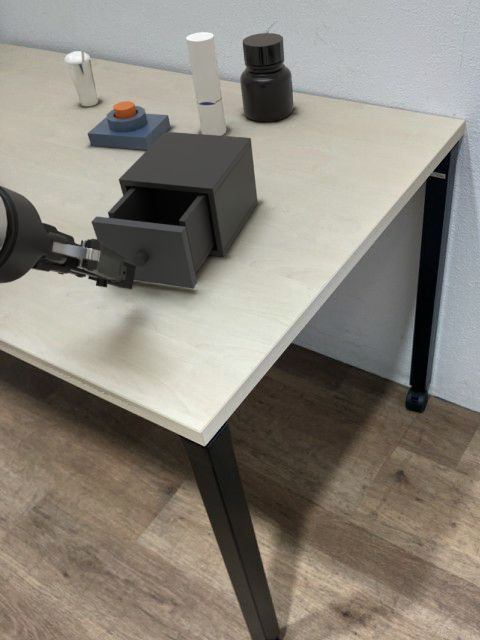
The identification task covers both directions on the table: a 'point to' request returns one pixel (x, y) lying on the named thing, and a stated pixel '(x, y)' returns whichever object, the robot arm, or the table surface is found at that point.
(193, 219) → the open drawer with knob
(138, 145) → the button block
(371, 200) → the table surface
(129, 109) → the button
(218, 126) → the tube
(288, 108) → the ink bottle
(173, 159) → the grey drawer cabinet
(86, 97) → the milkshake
